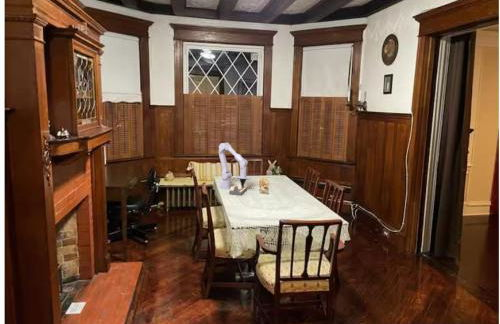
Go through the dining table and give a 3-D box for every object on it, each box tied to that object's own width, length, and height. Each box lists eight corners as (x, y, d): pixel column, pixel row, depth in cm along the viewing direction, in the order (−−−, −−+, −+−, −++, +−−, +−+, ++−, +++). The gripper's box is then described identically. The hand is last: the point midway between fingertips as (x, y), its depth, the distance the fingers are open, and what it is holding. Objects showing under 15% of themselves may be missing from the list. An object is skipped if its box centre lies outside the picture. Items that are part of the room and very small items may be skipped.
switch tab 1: (230, 190, 336) (230, 187, 336) (231, 189, 339) (231, 186, 338) (233, 190, 335) (233, 187, 335) (234, 189, 338) (234, 186, 338)
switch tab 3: (238, 189, 341) (238, 186, 341) (238, 188, 344) (238, 185, 344) (241, 189, 341) (241, 186, 340) (242, 188, 344) (242, 185, 343)
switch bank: (229, 194, 335) (229, 191, 334) (235, 189, 355) (235, 186, 354) (241, 195, 332) (241, 192, 332) (246, 190, 352) (247, 187, 352)
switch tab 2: (237, 187, 349) (237, 184, 348) (238, 186, 352) (238, 183, 351) (240, 187, 348) (241, 184, 348) (241, 186, 351) (241, 183, 350)
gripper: (234, 172, 345) (234, 187, 347) (249, 174, 341) (249, 188, 344) (236, 171, 351) (236, 185, 354) (251, 172, 348) (251, 186, 350)
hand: (242, 186), depth 349 cm, fingers closed
